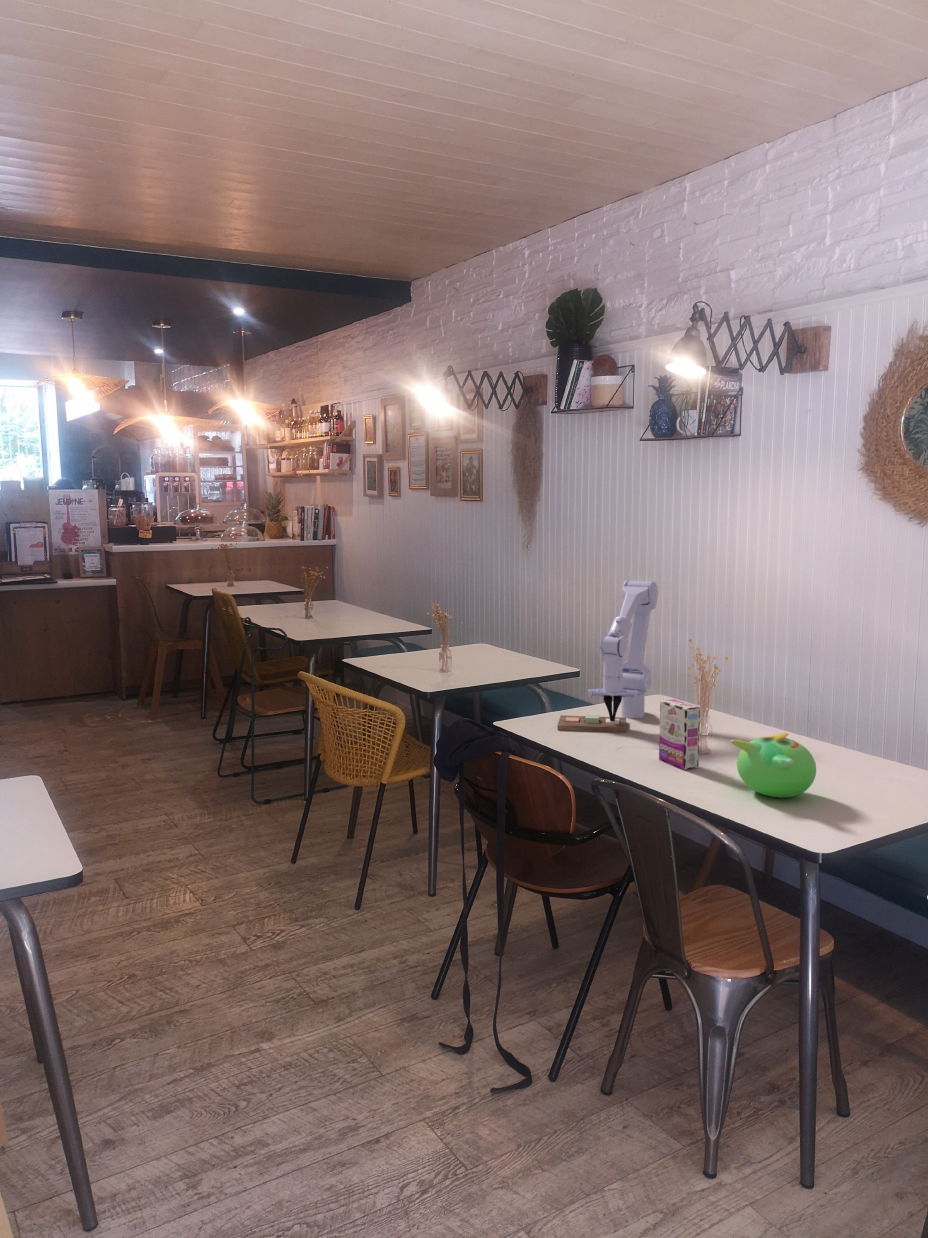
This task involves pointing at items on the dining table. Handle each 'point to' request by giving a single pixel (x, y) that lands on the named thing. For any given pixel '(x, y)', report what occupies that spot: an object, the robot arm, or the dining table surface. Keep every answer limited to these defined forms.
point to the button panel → (592, 725)
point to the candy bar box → (679, 734)
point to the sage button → (592, 719)
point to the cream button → (612, 721)
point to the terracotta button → (572, 719)
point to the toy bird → (775, 765)
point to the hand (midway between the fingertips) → (612, 720)
